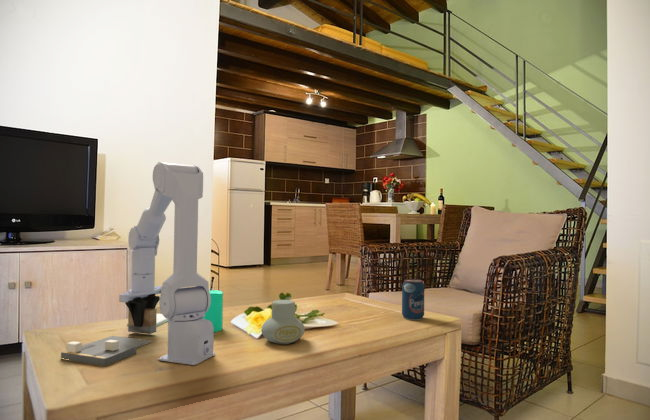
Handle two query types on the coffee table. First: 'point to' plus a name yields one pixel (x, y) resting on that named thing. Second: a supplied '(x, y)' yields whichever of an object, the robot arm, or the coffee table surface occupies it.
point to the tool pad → (126, 341)
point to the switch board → (99, 354)
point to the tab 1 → (74, 346)
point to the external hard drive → (159, 320)
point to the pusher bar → (144, 322)
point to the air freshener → (283, 323)
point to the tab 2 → (111, 345)
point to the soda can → (413, 299)
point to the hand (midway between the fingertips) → (142, 325)
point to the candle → (215, 310)
